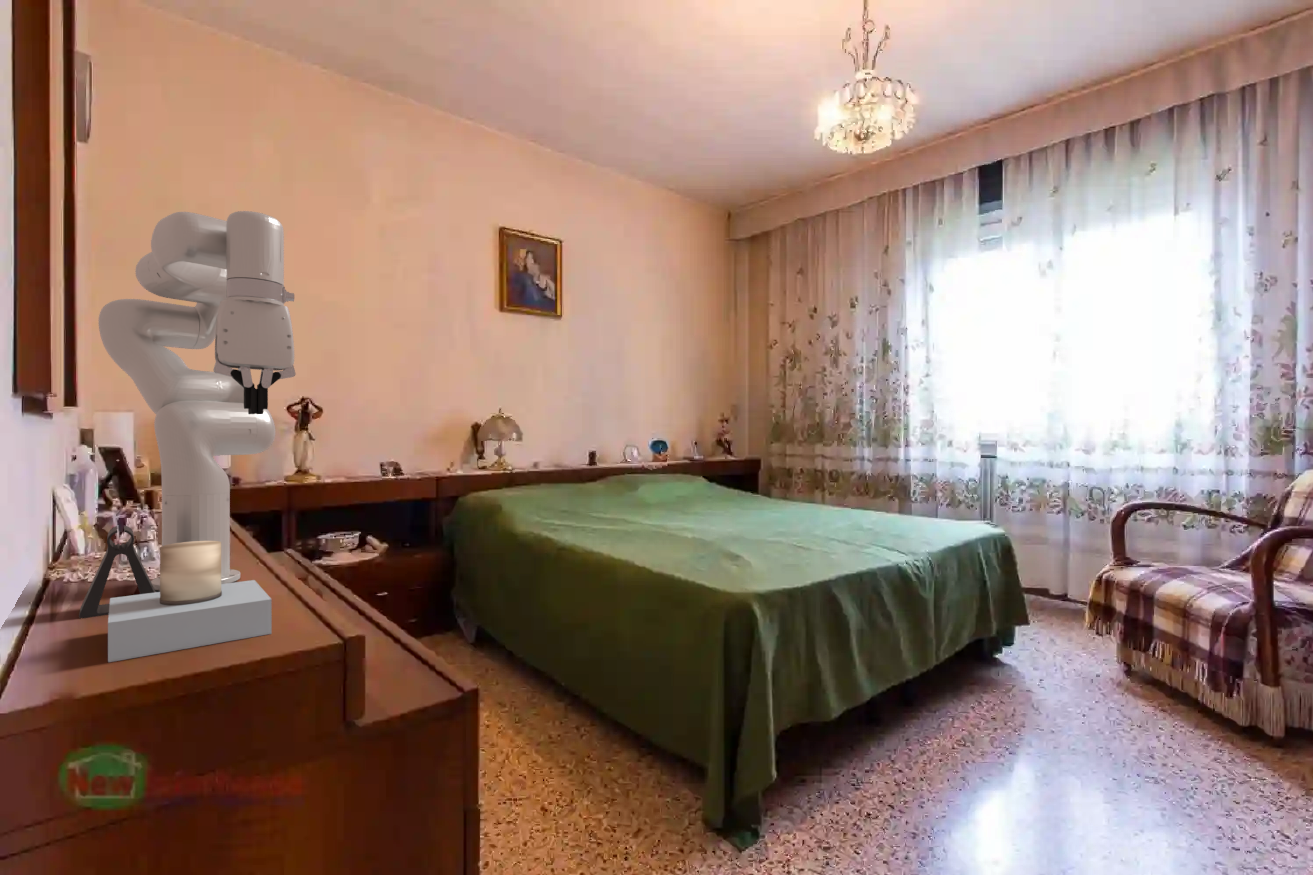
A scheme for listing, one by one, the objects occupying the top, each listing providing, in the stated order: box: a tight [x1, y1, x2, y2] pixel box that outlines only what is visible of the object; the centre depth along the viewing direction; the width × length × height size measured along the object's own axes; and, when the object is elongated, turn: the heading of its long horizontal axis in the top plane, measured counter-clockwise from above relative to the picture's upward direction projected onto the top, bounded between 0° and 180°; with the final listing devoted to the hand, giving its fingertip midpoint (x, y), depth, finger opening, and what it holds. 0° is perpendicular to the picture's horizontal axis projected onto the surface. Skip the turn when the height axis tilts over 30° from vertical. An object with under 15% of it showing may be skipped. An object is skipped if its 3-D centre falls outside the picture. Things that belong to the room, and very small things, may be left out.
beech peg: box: [159, 541, 222, 605], centre depth 82 cm, size 6×6×11 cm
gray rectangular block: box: [107, 579, 273, 663], centre depth 82 cm, size 14×16×4 cm
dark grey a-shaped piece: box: [78, 525, 157, 619], centre depth 93 cm, size 9×6×12 cm, turn 130°
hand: (255, 413), depth 97 cm, fingers closed
